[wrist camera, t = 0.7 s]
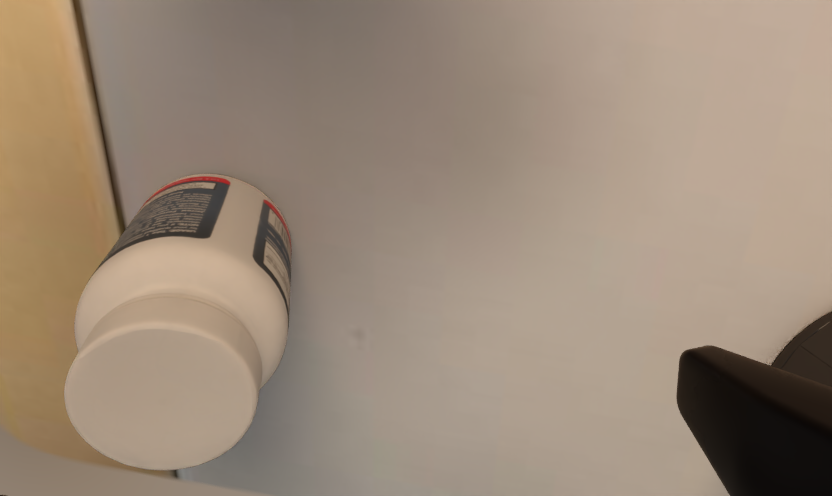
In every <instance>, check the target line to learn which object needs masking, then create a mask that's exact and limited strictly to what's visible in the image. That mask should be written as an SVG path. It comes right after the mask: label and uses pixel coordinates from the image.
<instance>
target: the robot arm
mask: <svg viewBox="0 0 832 496" xmlns="http://www.w3.org/2000/svg"><path fill="white" fill-rule="evenodd" d="M677 404H678V408H679V410H680V413H681V415H682V417H683V418H684V420H685V422H686V423H687V425H688V427H689V428H690V430H691V432H692V433H693V435H694V437H695V438H696V440H697V442H698V443H699V445H700V447H701V448H702V450H703V452H704V453H705V455H706V457H707V458H708V460H709V461H710V463H711V465H712V466H713V468H714V470H715V471H716V473H717V475H718V476H719V478H720V480H721V481H722V483H723V485H724V486H725V488H726V490H727V491H728V493H729V495H730V496H832V387H829V386H827V385H824V384H821V383H818V382H815V381H812V380H809V379H807V378H804V377H801V376H798V375H795V374H792V373H790V372H787V371H784V370H781V369H778V368H775V367H772V366H770V365H767V364H764V363H761V362H758V361H755V360H753V359H750V358H747V357H744V356H741V355H738V354H735V353H733V352H730V351H727V350H724V349H721V348H718V347H715V346H703V347H698V348H693V349H689V350H686V351H684V352H683V353H682V355H681V357H680V361H679V372H678V385H677ZM0 496H6V495H0Z"/></svg>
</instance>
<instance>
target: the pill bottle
mask: <svg viewBox="0 0 832 496" xmlns="http://www.w3.org/2000/svg"><path fill="white" fill-rule="evenodd" d="M290 282H291V239H290V233H289V229H288V226H287V224H286V221H285V219H284V217H283V216H282V214H281V212H280V211H279V209H278V208H277V207H276V205H275V204H274V203H273V202H272V201H271V200H270V199H269V198H268V197H267V196H266V195H265V194H263V193H262V192H261V191H259V190H258V189H257V188H255V187H253V186H252V185H250V184H248V183H246V182H243V181H241V180H238V179H235V178H232V177H228V176H224V175H218V174H196V175H190V176H186V177H183V178H179V179H176V180H174V181H172V182H170V183H168V184H166V185H165V186H163V187H161V188H160V189H159V190H157V191H156V192H155V193H154V194H153V195H152V196H151V197H150V198H149V199H148V200H147V201H146V202H145V203H144V205H143V206H142V207H141V209H140V210H139V211H138V213H137V215H136V216H135V217H134V219H133V220H132V221H131V223H130V224H129V226H128V227H127V229H126V230H125V231H124V233H123V234H122V235H121V237H120V238H119V240H118V241H117V242H116V244H115V245H114V247H113V248H112V249H111V251H110V252H109V253H108V255H107V256H106V257H105V259H104V260H103V261H102V263H101V264H100V265H99V267H98V268H97V270H96V271H95V272H94V274H93V275H92V276H91V278H90V280H89V281H88V283H87V285H86V287H85V289H84V291H83V293H82V295H81V297H80V300H79V303H78V306H77V311H76V316H75V323H74V328H75V339H76V344H77V348H78V354H77V356H76V358H75V359H74V361H73V363H72V365H71V367H70V370H69V372H68V375H67V378H66V382H65V389H64V398H65V405H66V410H67V413H68V416H69V418H70V420H71V423H72V425H73V426H74V428H75V429H76V431H77V432H78V433H79V435H80V436H81V437H82V438H83V439H84V440H85V441H86V442H87V443H88V444H89V445H91V446H92V447H93V448H94V449H95V450H97V451H98V452H100V453H101V454H103V455H105V456H107V457H109V458H111V459H113V460H115V461H118V462H120V463H122V464H125V465H128V466H134V467H138V468H142V469H148V470H177V469H184V468H190V467H194V466H197V465H200V464H203V463H206V462H208V461H210V460H213V459H215V458H217V457H219V456H220V455H222V454H224V453H225V452H227V451H228V450H229V449H231V448H232V447H233V446H234V445H235V444H236V443H237V442H238V441H239V440H240V439H241V438H242V437H243V436H244V434H245V433H246V431H247V430H248V429H249V427H250V424H251V422H252V420H253V418H254V415H255V412H256V408H257V403H258V397H259V390H260V389H261V388H262V387H263V386H264V385H265V384H266V383H267V381H268V380H269V379H270V378H271V376H272V375H273V374H274V372H275V370H276V369H277V367H278V365H279V363H280V361H281V358H282V356H283V353H284V350H285V346H286V341H287V334H288V327H289V305H290Z"/></svg>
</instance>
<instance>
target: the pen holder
mask: <svg viewBox="0 0 832 496" xmlns="http://www.w3.org/2000/svg"><path fill="white" fill-rule="evenodd" d="M772 367H775V368H778V369H781V370H784V371H787V372H790V373H792V374H795V375H798V376H801V377H804V378H807V379H809V380H812V381H815V382H818V383H821V384H824V385H827V386H829V387H832V312H830V313H828V314H827V315H825V316H823V317H821V318H820V319H818V320H817V321H815V322H814V323H812V324H811V325H809V326H808V327H807V328H806V329H804V330H803V331H802V332H801V333H800V334H798V335H797V336H796V337H795V338H794V339H793V340H792V341H791V342H790V343H789V344H788V345H787V346H786V348H785V349H784V350H783V351H782V352H781V353H780V355H779V356H778V357H777V359H776V360H775V362H774V363H773V365H772Z"/></svg>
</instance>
